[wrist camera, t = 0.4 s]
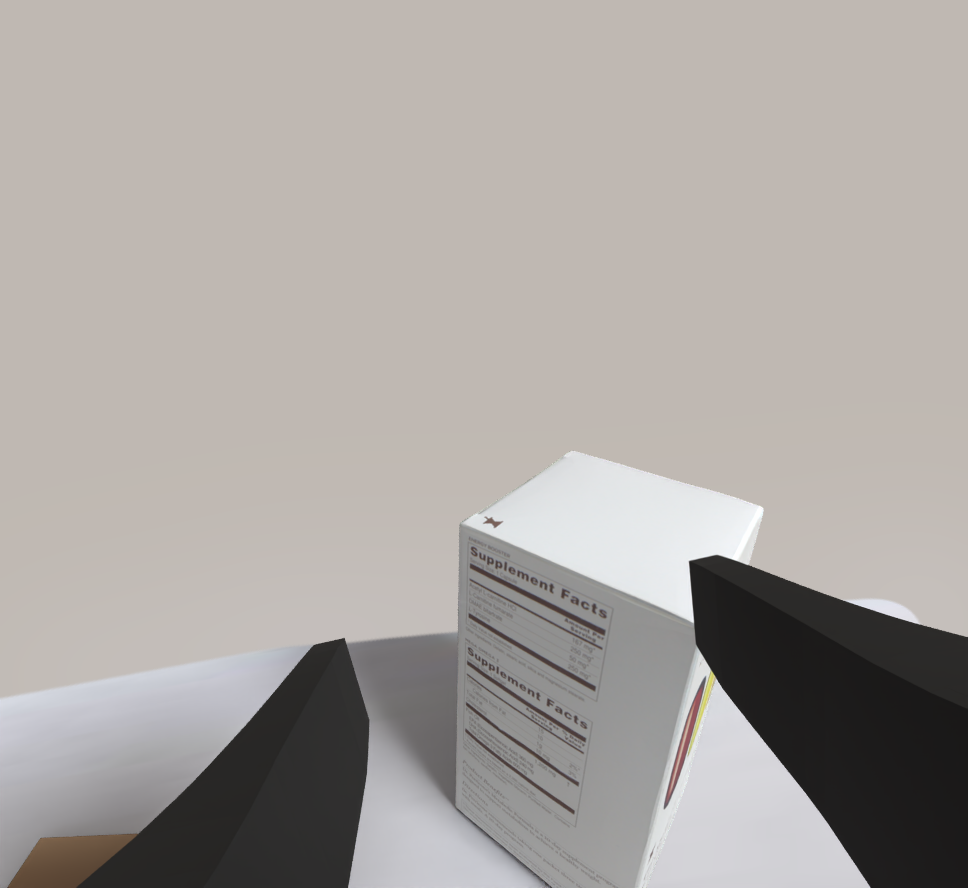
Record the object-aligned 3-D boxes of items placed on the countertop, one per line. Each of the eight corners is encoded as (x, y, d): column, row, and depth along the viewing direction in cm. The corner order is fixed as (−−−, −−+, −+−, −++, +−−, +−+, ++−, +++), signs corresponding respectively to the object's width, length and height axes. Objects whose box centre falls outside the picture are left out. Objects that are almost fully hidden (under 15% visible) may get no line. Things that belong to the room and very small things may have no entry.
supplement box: (624, 956, 21) (707, 638, 14) (449, 810, 26) (448, 523, 19) (693, 771, 28) (770, 501, 21) (545, 684, 33) (570, 443, 26)
